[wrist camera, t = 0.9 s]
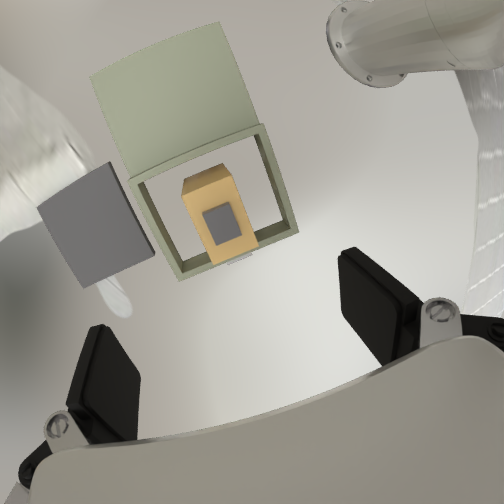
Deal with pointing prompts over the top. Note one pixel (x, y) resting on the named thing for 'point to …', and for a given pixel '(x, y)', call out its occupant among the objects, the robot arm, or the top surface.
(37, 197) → the top surface
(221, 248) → the block
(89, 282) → the rubber mat
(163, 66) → the equipment case
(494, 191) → the top surface
